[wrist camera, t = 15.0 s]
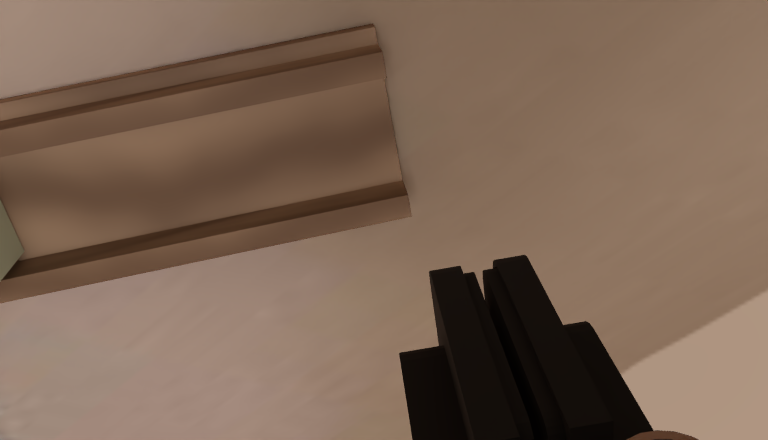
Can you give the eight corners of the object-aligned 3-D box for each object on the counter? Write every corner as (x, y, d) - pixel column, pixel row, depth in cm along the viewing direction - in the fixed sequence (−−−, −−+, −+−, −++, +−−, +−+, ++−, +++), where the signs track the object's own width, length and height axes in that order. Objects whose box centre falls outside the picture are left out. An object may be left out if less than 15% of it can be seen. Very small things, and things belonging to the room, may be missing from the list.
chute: (-201, 140, 33) (-291, 183, 28) (372, 23, 33) (385, 44, 28) (-100, 313, 37) (-162, 376, 32) (406, 206, 38) (421, 252, 33)
